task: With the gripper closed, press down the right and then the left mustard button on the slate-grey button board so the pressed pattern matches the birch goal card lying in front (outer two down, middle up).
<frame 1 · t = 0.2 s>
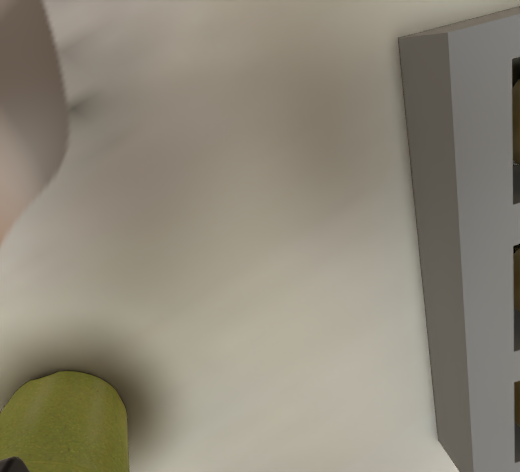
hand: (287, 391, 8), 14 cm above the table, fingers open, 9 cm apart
board: (514, 251, 25), on the table
plant pot 2: (71, 412, 24), on the table
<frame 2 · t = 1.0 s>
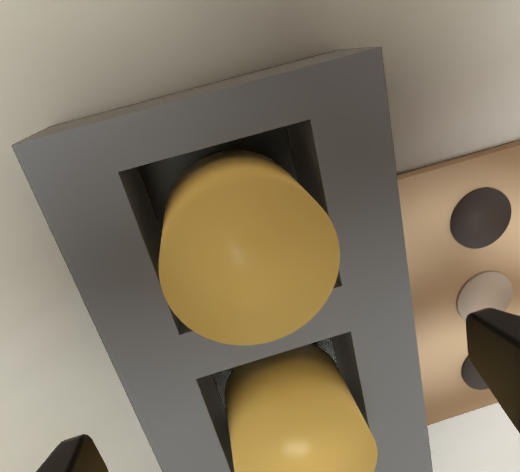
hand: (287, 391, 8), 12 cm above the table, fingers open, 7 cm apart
board: (271, 354, 21), on the table
goal card: (475, 291, 22), on the table
button 3: (242, 241, 14), point 5 cm above the table, slide at 0.0 cm
button 2: (294, 425, 17), point 5 cm above the table, slide at 0.0 cm
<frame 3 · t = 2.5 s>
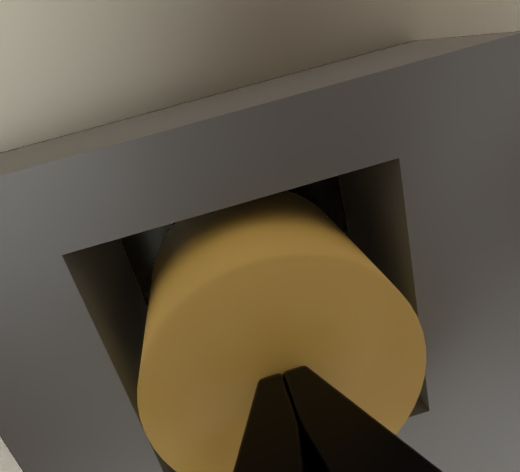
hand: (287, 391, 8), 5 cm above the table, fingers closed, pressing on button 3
board: (303, 460, 16), on the table
button 3: (267, 325, 9), point 3 cm above the table, slide at 1.3 cm, touching gripper
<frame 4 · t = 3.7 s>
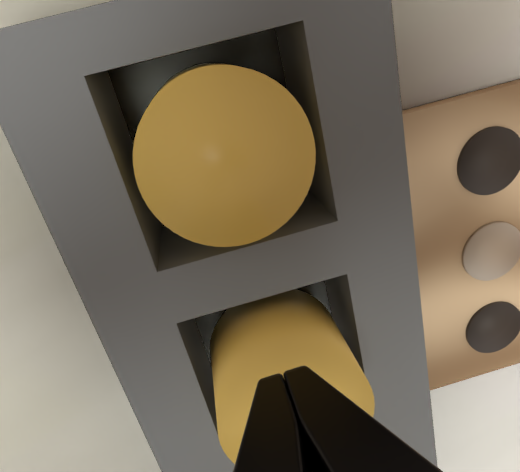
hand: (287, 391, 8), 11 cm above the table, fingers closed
board: (263, 309, 20), on the table
goal card: (482, 245, 21), on the table
button 3: (221, 148, 14), point 3 cm above the table, slide at 1.7 cm
button 2: (284, 377, 16), point 5 cm above the table, slide at 0.0 cm
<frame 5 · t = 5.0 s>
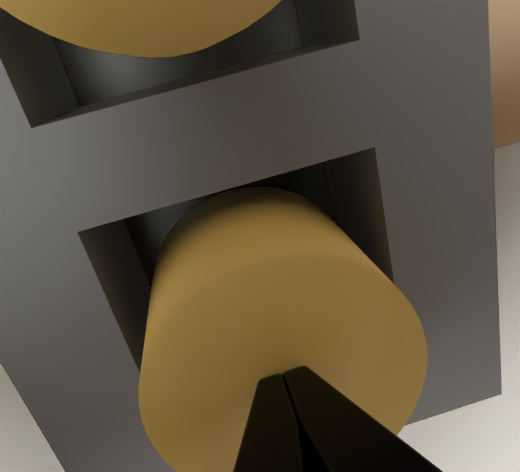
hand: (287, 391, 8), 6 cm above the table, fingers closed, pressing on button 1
button 1: (268, 325, 9), point 4 cm above the table, slide at 0.2 cm, touching gripper
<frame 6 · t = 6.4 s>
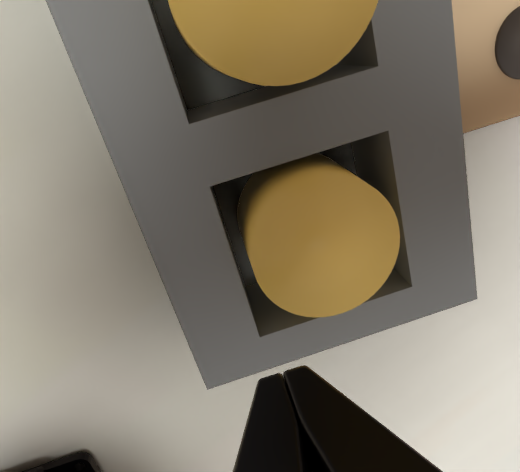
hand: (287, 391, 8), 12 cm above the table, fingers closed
board: (240, 2, 16), on the table
button 1: (311, 229, 16), point 3 cm above the table, slide at 1.7 cm
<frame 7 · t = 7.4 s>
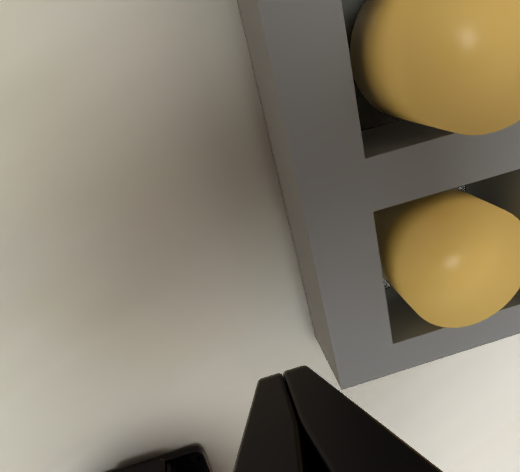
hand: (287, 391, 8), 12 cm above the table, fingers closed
board: (386, 48, 18), on the table
button 2: (449, 43, 14), point 5 cm above the table, slide at 0.0 cm
button 1: (440, 249, 19), point 3 cm above the table, slide at 1.7 cm
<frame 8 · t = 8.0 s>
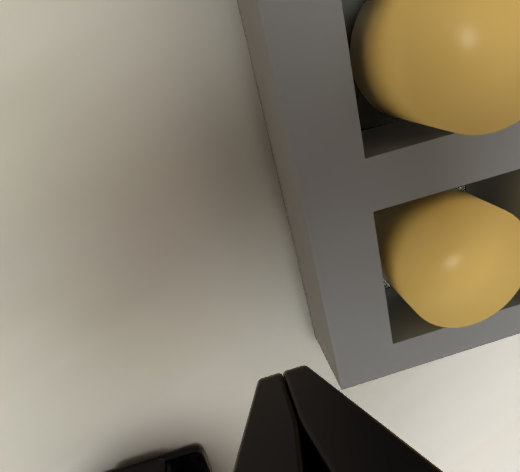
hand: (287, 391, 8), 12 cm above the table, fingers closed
board: (386, 48, 18), on the table
button 2: (449, 43, 14), point 5 cm above the table, slide at 0.0 cm
button 1: (440, 249, 19), point 3 cm above the table, slide at 1.7 cm
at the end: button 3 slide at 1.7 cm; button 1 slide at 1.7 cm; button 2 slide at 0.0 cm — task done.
